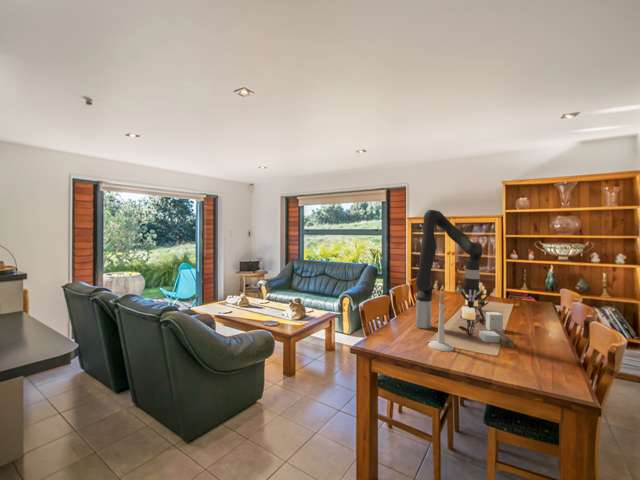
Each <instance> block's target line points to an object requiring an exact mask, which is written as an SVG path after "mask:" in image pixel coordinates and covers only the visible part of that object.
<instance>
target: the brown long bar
mask: <svg viewBox="0 0 640 480" xmlns="http://www.w3.org/2000/svg"><path fill="white" fill-rule="evenodd" d="M490 331H494V332H495V333H497V334H498V335H499V336H500V344H501V345H502V346H504V347H505V348H514V340H513V339H512V338H510V337H509V336H507V335H506V334H504V333H503V331H499V330H498V329H490Z"/></svg>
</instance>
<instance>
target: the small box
mask: <svg viewBox="0 0 640 480" xmlns="http://www.w3.org/2000/svg"><path fill="white" fill-rule="evenodd" d="M485 329H486V330H487V331H490V329H498V330H499V331H500V332H503V329H504V315H503V314H502V313H500V312H494V311H492V312H490V311H489V312H488V311H486V312H485Z"/></svg>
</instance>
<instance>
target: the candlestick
mask: <svg viewBox="0 0 640 480" xmlns="http://www.w3.org/2000/svg"><path fill="white" fill-rule="evenodd" d="M444 299H445V292H444V291H439V303H438V307H439V311H438V312H439V315H438V327H437V329H438V330H437V340H432V341H430V342H429V343H428V344H427V345H428V348H430V349H431V350H433V351H438V352H448V353H449V352H452V351H453V352H454V350H455V348H454V345H453V344H451V343H449V342H447V341H446V339H445V321H444V320H445V316H444V315H445V313H444V309H445V306H446V304H444V303H445V302H444V301H445V300H444Z"/></svg>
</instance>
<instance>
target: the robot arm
mask: <svg viewBox="0 0 640 480" xmlns="http://www.w3.org/2000/svg"><path fill="white" fill-rule="evenodd" d="M436 226H437V227H439V228H440V229H442V230H443V231H444V232H445V233H446V234H447V236H448V237H449V238H450V239H451V240H452V241H453V242H455V243H456V244H457V245H459V247H460V249H461V250H462V251H463V252H464V253H465V254H467V255H469V257H468V258H467V259H466V260H465V261H466V262H465V271H464V284H463V288H462V289H459V291H458V292H459V293H460V294H461V296H462V297H463V299H465V301H467V307H468V308H469V309H470V308H471V309H473V308H474V307H475V301H477V302H478V301H479V299H481V297H482V296H483V295H484V292H483V291H482V290H481V289H480V277H481V276H480V275H481V274H480V266H481V265H480V263H481V259H482V255H483V252H484V251H483V245H482V244H481V243H480V242H477V241H476V242H474V241H473V242H472V241H471V240H470V239H469V236H468V235H467V234H465V233H464V232H463V231H462V230H461V229H460V228H457V227H456V226H455V225H454V224H453V223H452V222H451V221H450V220H448V219H447V217H446V216H445V215H444V214H443V213H442V212H441V211H439V210H436V209H427V211H426V212H424V216H423V226H422V227H423V229H422V231H423V232H422V239H421V246H420V251H419V253H420V255H419V267H418V271H417V276H416V280H415V286H416V288H417V292H416V305H415V306H416V309H415V320H414V321H415V322H414V323H415V327H416V328H418V329H425V330H427V329H431V328H432V297H433V279H432V277H431V272H432V268H433V265H434V262H435V258H436V254H437V241H436V237H435V227H436Z"/></svg>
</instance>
